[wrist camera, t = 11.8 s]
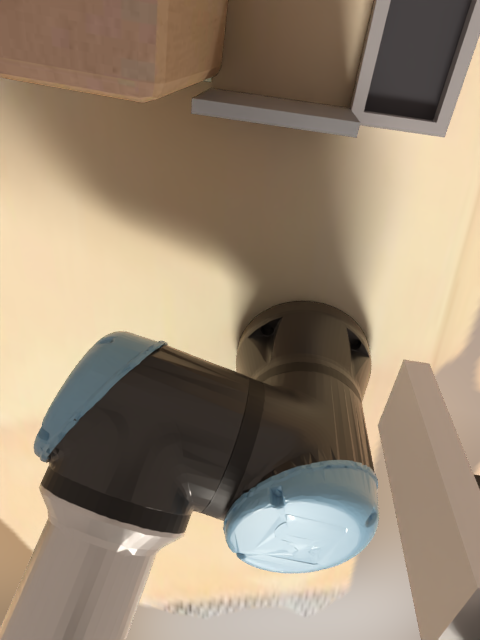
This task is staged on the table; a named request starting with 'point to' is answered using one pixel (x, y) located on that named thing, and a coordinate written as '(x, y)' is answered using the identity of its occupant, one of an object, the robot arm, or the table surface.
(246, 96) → the channel
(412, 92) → the pit trap
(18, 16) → the wooden block
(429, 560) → the robot arm
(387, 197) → the table surface
